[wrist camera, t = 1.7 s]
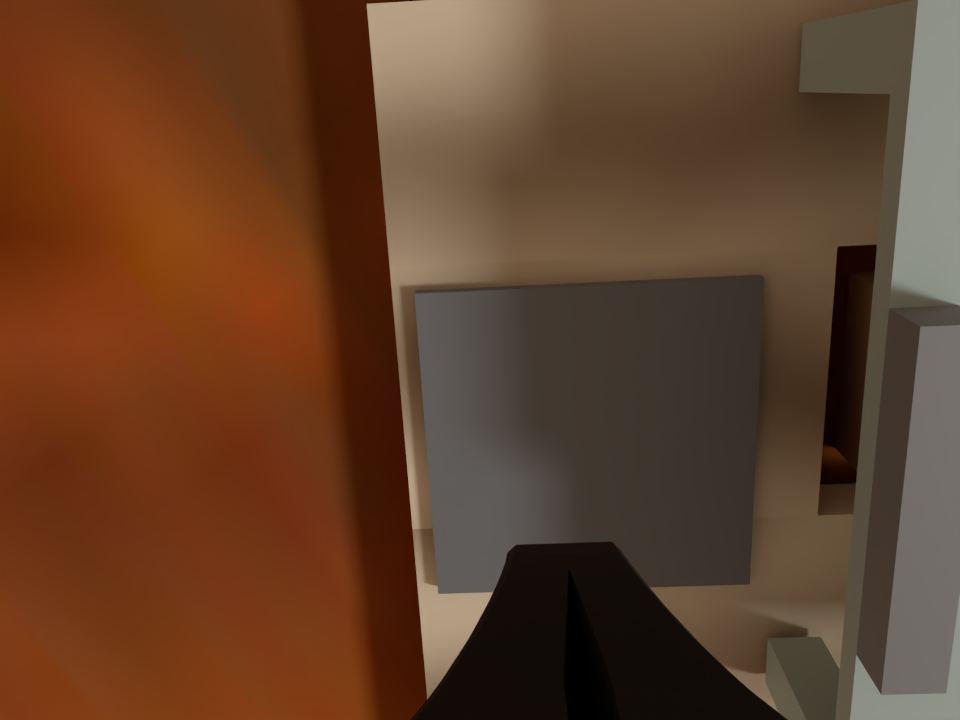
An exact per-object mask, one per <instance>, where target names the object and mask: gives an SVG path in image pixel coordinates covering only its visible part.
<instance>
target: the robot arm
mask: <svg viewBox="0 0 960 720" xmlns="http://www.w3.org/2000/svg"><path fill="white" fill-rule="evenodd" d="M411 720H788V719H786V718H785V717H784V716H782V715H781V714H780V713H779V712H777V711H776V710H775V709H773V708H772V707H771V706H770V705H768V704H767V703H766V702H764V701H763V700H762V699H761V698H759V697H758V696H757V695H755V694H754V693H753V692H752V691H751V690H749V689H748V688H747V687H746V686H745V685H744V684H743V683H741V682H740V681H739V680H738V679H737V678H736V677H735V676H734V675H733V674H732V673H731V672H730V671H728V670H727V669H726V668H725V667H724V666H723V665H722V664H721V663H720V662H719V661H718V660H717V659H716V658H715V657H714V656H712V655H711V654H710V653H709V652H708V651H707V650H706V649H705V648H704V647H703V646H702V645H701V644H700V643H699V642H698V641H697V640H696V639H695V637H694V636H693V635H692V634H691V633H690V632H689V631H688V630H687V629H686V628H685V627H684V626H683V625H682V623H681V622H680V621H679V620H678V619H677V618H676V617H675V616H674V615H673V614H672V613H671V612H670V611H669V609H668V608H667V607H666V606H665V605H664V604H663V603H662V601H661V600H660V599H659V598H658V597H657V596H656V594H655V593H654V592H653V591H652V590H651V588H650V587H649V586H648V585H647V584H646V582H645V581H644V580H643V579H642V577H641V576H640V575H639V574H638V572H637V571H636V570H635V569H634V567H633V566H632V565H631V563H630V562H629V561H628V559H627V558H626V557H625V555H624V554H623V552H622V551H621V550H620V549H619V548H618V547H617V546H616V545H615V544H614V543H613V542H582V543H552V544H522V545H515V546H514V547H513V548H512V549H511V550H510V551H509V552H508V553H507V556H506V561H505V564H504V567H503V570H502V573H501V576H500V578H499V580H498V583H497V585H496V587H495V589H494V592H493V594H492V596H491V598H490V600H489V602H488V604H487V606H486V608H485V610H484V612H483V613H482V615H481V617H480V619H479V621H478V623H477V624H476V626H475V628H474V630H473V632H472V634H471V635H470V637H469V639H468V640H467V642H466V644H465V645H464V647H463V648H462V650H461V651H460V653H459V654H458V656H457V657H456V659H455V660H454V662H453V663H452V665H451V667H450V668H449V670H448V671H447V673H446V674H445V676H444V677H443V679H442V680H441V682H440V683H439V684H438V686H437V687H436V689H435V690H434V691H433V693H432V694H431V695H430V697H429V698H428V699H427V701H426V702H425V703H424V704H423V706H422V707H421V708H420V710H419V711H418V712H417V713H416V715H415V716H414V717H413V718H412V719H411Z"/></svg>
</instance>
